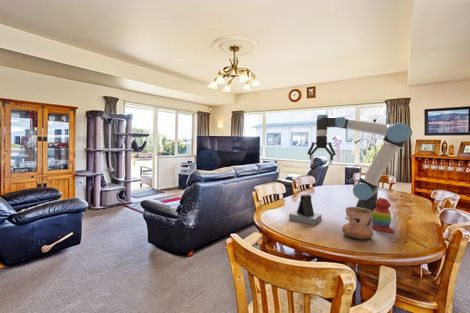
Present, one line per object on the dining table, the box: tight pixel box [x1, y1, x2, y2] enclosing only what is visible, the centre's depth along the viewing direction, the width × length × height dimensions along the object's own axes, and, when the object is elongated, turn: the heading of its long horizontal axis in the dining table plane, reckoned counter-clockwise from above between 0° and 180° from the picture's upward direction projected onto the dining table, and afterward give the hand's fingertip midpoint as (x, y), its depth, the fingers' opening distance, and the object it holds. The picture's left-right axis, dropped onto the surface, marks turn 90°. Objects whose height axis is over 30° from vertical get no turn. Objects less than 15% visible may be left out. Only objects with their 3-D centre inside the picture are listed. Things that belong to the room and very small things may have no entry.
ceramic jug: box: [341, 206, 374, 240], centre depth 132 cm, size 18×14×14 cm
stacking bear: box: [371, 196, 395, 234], centre depth 143 cm, size 11×10×18 cm
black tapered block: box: [296, 194, 315, 217], centre depth 158 cm, size 9×6×12 cm, turn 25°
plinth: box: [288, 209, 322, 226], centre depth 159 cm, size 16×12×4 cm
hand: (321, 164), depth 189 cm, fingers open, 13 cm apart
